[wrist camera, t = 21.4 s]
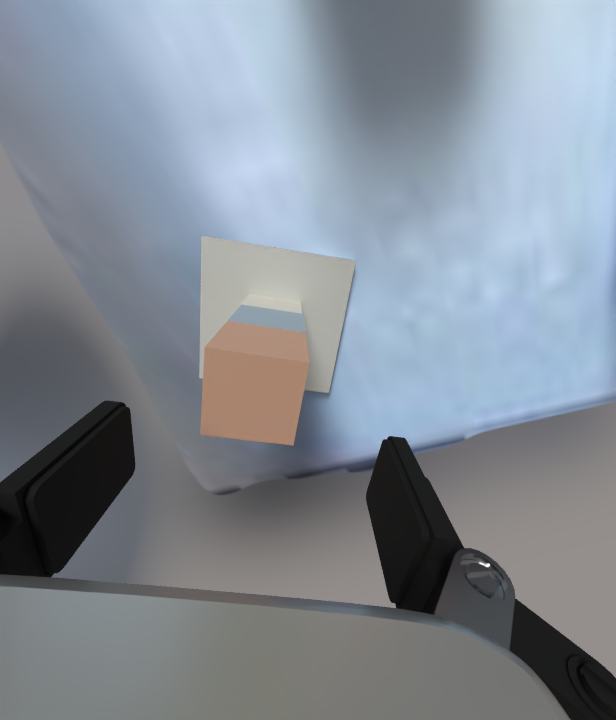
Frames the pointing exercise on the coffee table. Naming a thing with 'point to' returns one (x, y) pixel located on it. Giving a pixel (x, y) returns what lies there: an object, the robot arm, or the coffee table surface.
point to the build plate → (277, 294)
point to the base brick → (273, 303)
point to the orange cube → (254, 383)
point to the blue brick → (269, 318)
